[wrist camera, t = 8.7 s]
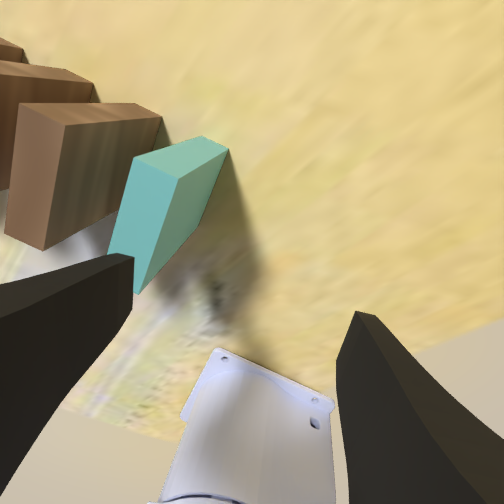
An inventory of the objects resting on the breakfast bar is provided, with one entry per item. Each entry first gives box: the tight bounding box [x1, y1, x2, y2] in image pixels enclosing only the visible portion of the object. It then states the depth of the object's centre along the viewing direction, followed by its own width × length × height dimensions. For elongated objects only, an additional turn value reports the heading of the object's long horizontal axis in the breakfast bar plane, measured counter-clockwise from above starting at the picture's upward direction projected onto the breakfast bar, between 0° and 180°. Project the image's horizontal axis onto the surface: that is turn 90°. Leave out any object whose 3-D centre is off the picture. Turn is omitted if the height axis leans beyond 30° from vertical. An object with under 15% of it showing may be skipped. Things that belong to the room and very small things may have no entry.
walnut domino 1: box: [0, 60, 93, 191], centre depth 15 cm, size 2×5×8 cm, turn 156°
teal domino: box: [107, 136, 229, 295], centre depth 16 cm, size 2×5×8 cm, turn 156°
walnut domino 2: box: [4, 103, 162, 251], centre depth 15 cm, size 2×5×8 cm, turn 156°
